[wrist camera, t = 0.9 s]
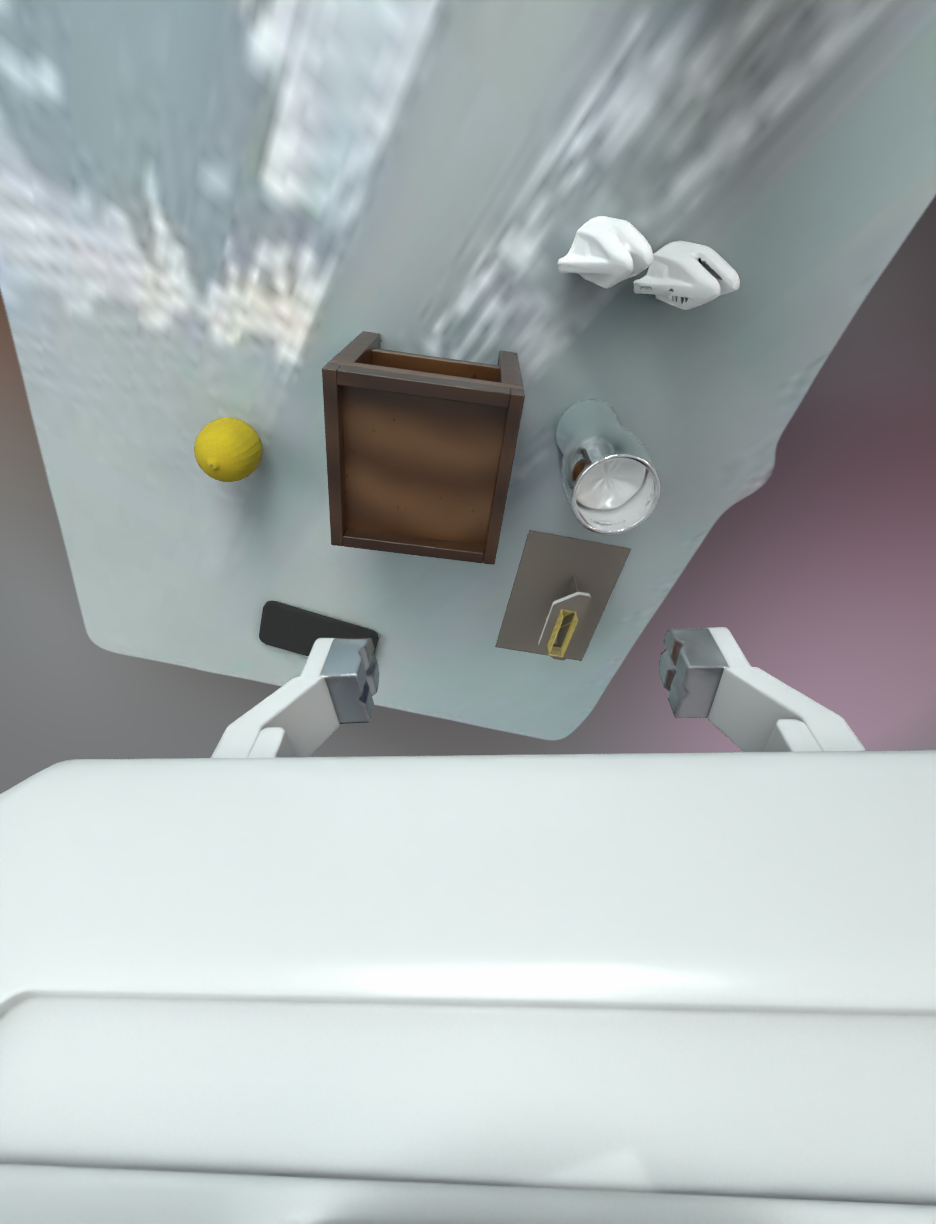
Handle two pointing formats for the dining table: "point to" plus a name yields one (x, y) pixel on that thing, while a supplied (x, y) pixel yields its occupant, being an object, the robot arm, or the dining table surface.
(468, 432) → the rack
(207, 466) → the lemon
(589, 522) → the beer glass
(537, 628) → the platform
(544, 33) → the dining table surface
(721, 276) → the shaker set
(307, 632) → the phone
